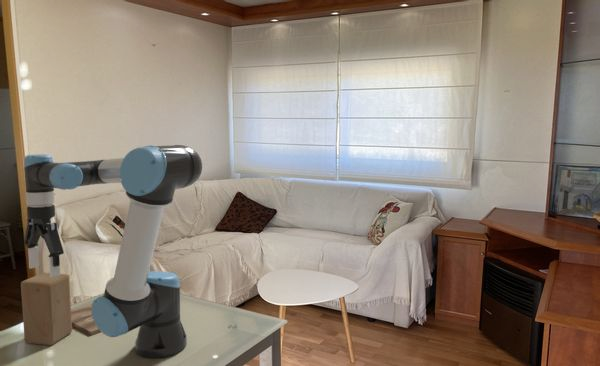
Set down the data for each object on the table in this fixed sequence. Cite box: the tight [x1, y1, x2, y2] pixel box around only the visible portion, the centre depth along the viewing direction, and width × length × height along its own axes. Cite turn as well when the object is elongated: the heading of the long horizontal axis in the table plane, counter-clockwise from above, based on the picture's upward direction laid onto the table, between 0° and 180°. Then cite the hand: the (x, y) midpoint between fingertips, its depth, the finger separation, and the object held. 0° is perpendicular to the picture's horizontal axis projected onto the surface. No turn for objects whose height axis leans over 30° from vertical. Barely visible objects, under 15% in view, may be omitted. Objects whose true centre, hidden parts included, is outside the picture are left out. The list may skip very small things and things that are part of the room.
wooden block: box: [20, 272, 73, 346], centre depth 145 cm, size 10×10×20 cm
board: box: [71, 303, 102, 336], centre depth 160 cm, size 22×14×1 cm, turn 54°
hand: (44, 271), depth 144 cm, fingers open, 13 cm apart
